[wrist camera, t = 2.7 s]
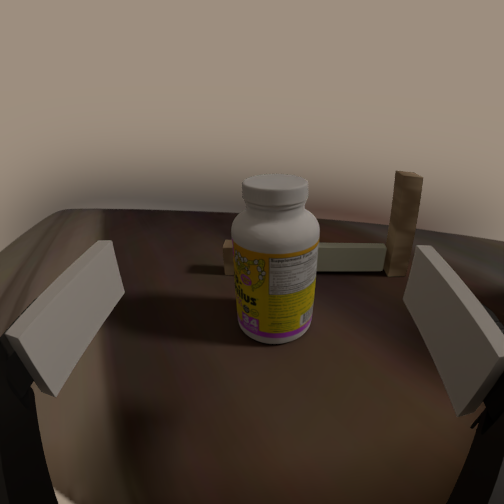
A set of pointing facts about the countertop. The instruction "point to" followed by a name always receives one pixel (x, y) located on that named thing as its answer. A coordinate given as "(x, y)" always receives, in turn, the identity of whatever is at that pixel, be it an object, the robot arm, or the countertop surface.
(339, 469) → the countertop surface
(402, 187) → the wooden post frame
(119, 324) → the countertop surface
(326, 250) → the bar
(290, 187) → the supplement bottle
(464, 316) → the robot arm
